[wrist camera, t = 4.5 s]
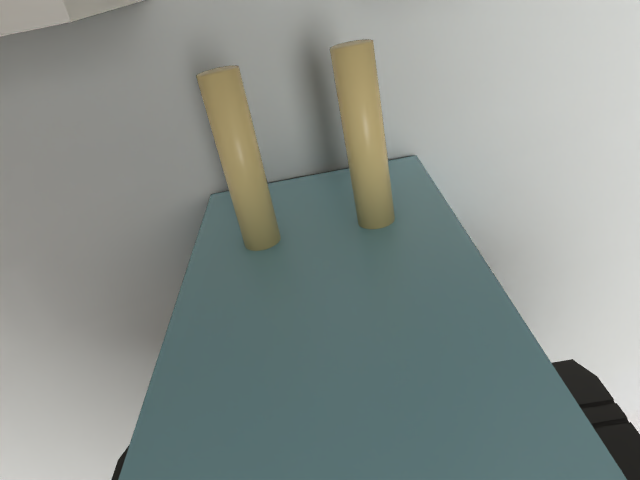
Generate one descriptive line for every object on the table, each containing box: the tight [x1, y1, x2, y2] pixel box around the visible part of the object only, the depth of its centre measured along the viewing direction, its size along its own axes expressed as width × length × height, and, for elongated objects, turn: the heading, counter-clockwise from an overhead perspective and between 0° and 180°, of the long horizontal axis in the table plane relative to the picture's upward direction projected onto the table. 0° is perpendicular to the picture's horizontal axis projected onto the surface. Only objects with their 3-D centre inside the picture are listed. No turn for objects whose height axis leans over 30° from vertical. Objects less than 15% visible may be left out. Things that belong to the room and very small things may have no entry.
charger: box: [118, 40, 627, 480], centre depth 9 cm, size 10×5×10 cm, turn 10°
